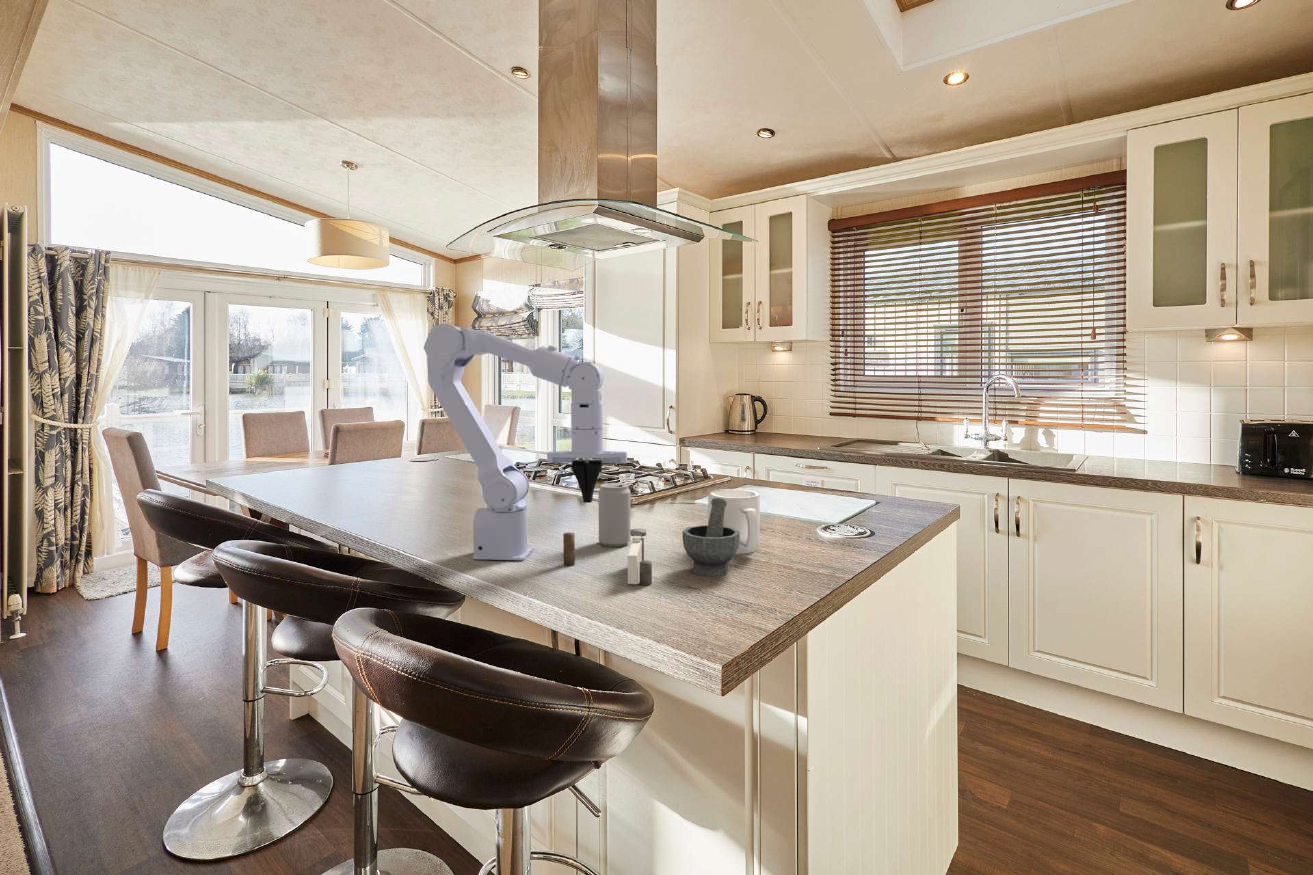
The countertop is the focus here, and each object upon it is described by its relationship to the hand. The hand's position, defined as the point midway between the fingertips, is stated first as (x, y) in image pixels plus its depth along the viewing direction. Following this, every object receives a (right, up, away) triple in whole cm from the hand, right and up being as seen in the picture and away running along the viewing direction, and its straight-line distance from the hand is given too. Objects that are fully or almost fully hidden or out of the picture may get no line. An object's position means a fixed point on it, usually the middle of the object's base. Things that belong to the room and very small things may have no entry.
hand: (587, 501), depth 118 cm
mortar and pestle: (+22, -11, -6) cm, 26 cm away
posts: (+4, -11, -9) cm, 15 cm away
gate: (+9, -11, -9) cm, 17 cm away
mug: (+28, -10, +7) cm, 31 cm away
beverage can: (+4, -10, +10) cm, 15 cm away
